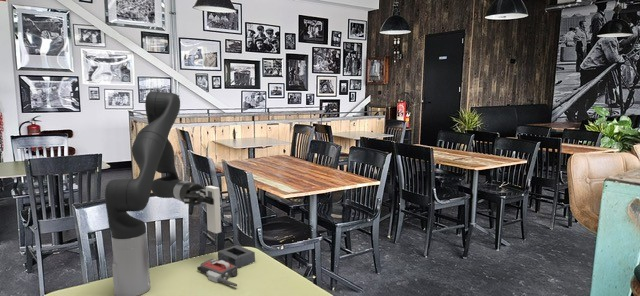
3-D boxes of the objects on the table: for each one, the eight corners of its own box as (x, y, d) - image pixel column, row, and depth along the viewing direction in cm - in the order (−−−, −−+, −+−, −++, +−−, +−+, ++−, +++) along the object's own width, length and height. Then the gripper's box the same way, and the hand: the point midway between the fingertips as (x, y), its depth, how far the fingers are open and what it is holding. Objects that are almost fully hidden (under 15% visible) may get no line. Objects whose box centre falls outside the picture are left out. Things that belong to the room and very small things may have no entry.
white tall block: (207, 230, 146) (205, 186, 144) (212, 228, 147) (210, 185, 145) (215, 233, 143) (213, 188, 140) (221, 232, 144) (219, 187, 142)
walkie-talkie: (191, 274, 139) (233, 291, 127) (190, 261, 138) (233, 277, 126) (213, 265, 146) (255, 280, 134) (212, 252, 145) (255, 267, 133)
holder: (218, 261, 148) (217, 251, 148) (237, 254, 154) (237, 244, 154) (235, 269, 142) (234, 259, 141) (255, 261, 147) (254, 252, 147)
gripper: (169, 185, 149) (197, 193, 137) (205, 178, 158) (233, 185, 147) (171, 206, 150) (198, 216, 138) (206, 199, 160) (234, 207, 148)
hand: (216, 200), depth 142 cm, fingers closed on white tall block, 2 cm apart
